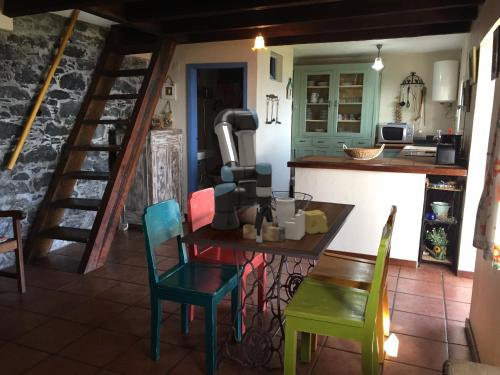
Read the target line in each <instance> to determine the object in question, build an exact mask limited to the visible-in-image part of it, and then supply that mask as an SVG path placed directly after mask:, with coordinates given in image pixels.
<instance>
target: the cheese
mask: <svg viewBox="0 0 500 375" xmlns="http://www.w3.org/2000/svg"><path fill="white" fill-rule="evenodd" d="M305 233H307V234H310V235H314V234H318V233H321V234H322V233H328V218H327V217H326V215H325V213H324V212H323V211H322V210H320V209H313V210H310V211H309V210H307V211H305Z"/></svg>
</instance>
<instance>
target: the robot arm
mask: <svg viewBox="0 0 500 375" xmlns="http://www.w3.org/2000/svg"><path fill="white" fill-rule="evenodd" d="M259 124H260V122H259V115H258V113H257V112H256V110H255V109H253V108H225V109H223V110H222V111H220V112H219V113H218V114H217V116H216V117H215V119H214V124H213V129H214V133H215V134H216V135H217V139H218V142H219V143H218V145H219V149H220V154H221V158H222V163H223V166H222V167H221V169H220V174H221V176H220V177H221V180H222V182H226V183H221V184H218V185H215V187H214V189H213V197H214V198H213V201H214V202H213V203H214V205H213V206H214V212H213V217H212V220H211V228H212V229H214V230H219V231H220V230H223V231H228V230H234V229H235V230H236V229H238V228H239V227H240V221H239V218H238V214H237V208H245V207H256V214H255V221H254V225H255V226H254V229H256V239H255V242H256V243H263V240H262V229H261V227H262V226H263V223H264V218H265V220H266V222H265V226H271V227H272V223H274V217H273V216H274V215H273V210H272V201H273V197H272V191H273V188H272V187H273V184H272V183H273V182H272V181H273V180H272V179H273V169H272V167H273V166H272V164H271V163H269V162H257V163H256V156H255V142H254V140H255V139H254V135H255V134H256V133H257V132H256V131H257V130H259V127H260V126H259ZM232 131H234V134H235V135H236V137H237V141H238V143H237V144H238V153H237V150H236V146H235V142H234V138H233V135H232V133H233V132H232ZM238 158H239V159H238ZM235 182H237V183H238V184H237V185H236V183H235ZM258 206H259V207H258Z"/></svg>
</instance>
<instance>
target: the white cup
mask: <svg viewBox="0 0 500 375" xmlns="http://www.w3.org/2000/svg"><path fill="white" fill-rule="evenodd" d="M295 199H296V198H292V197H277V198H275V201H276V205H275V213H276V220H277V222H278V223H277V227H284V228H285V222H290V219H291V218H295V215H296V213H295V211H296V206H295V205H296V204H295V202H296V200H295Z"/></svg>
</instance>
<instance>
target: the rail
mask: <svg viewBox="0 0 500 375" xmlns="http://www.w3.org/2000/svg"><path fill="white" fill-rule="evenodd" d="M254 226H255V224H250V223H249V224H247V223H246V224H245V225H243V228H242V229H243V231H242V232H243V239H248V240H250V239H251V240H256V229H254ZM261 229H262V241H266V242H267V241H269V242H270V241H271V242H279V243H283V242H284V241H285V240H286V239H285V227H279V226H272V225H271V226H266V225H262V227H261Z"/></svg>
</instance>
